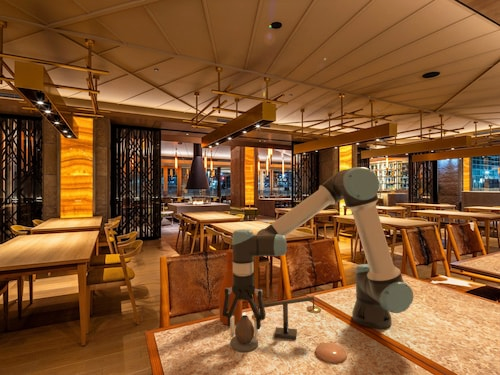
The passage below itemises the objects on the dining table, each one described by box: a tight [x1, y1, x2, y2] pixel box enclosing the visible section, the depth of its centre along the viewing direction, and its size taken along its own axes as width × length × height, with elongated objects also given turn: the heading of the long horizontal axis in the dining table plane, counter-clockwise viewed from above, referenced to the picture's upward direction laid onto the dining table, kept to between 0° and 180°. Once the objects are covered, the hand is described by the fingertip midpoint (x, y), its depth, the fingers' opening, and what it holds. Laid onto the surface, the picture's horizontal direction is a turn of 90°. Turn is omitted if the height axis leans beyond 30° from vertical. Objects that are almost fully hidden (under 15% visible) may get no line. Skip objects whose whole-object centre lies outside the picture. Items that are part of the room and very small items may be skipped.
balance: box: [251, 296, 322, 341], centre depth 106 cm, size 26×5×15 cm, turn 77°
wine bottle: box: [218, 249, 243, 326], centre depth 118 cm, size 10×10×30 cm
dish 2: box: [315, 342, 348, 364], centre depth 93 cm, size 10×10×1 cm
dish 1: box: [229, 336, 259, 353], centre depth 100 cm, size 10×10×1 cm
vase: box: [234, 314, 254, 344], centre depth 100 cm, size 7×7×9 cm
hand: (244, 336), depth 100 cm, fingers open, 8 cm apart
